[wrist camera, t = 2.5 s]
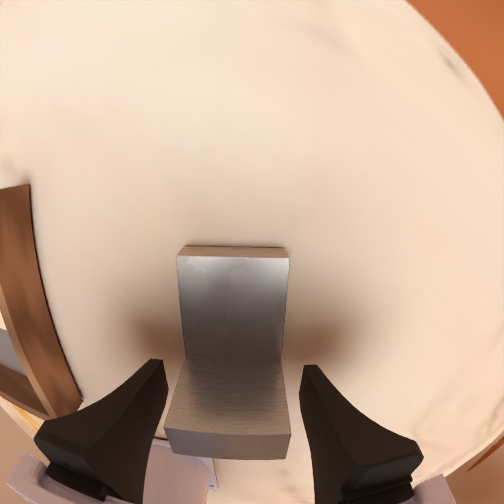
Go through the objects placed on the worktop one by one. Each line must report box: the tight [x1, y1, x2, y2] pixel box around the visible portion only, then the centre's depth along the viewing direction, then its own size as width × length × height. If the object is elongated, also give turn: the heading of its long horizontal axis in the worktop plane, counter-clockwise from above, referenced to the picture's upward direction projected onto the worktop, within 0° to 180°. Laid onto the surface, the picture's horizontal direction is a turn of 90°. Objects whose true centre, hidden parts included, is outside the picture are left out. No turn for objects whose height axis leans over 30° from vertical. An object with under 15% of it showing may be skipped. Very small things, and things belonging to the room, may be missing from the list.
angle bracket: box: [164, 246, 291, 460], centre depth 10 cm, size 7×4×6 cm, turn 179°
